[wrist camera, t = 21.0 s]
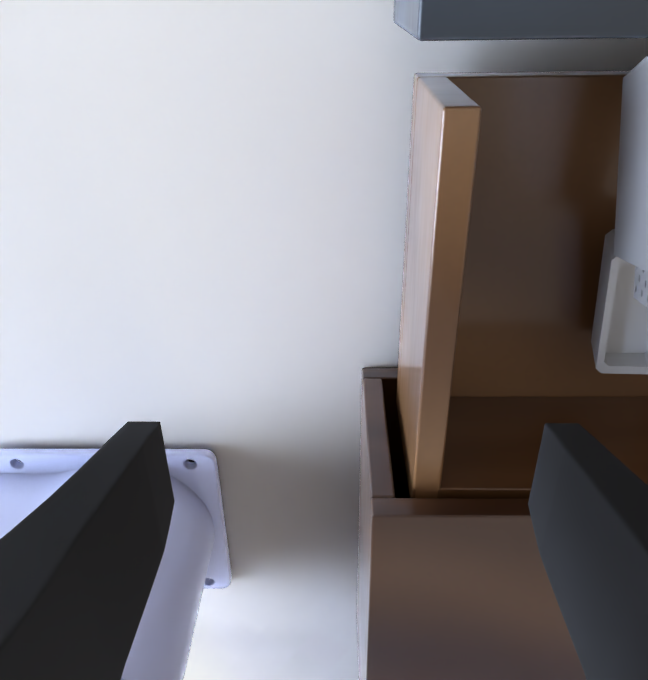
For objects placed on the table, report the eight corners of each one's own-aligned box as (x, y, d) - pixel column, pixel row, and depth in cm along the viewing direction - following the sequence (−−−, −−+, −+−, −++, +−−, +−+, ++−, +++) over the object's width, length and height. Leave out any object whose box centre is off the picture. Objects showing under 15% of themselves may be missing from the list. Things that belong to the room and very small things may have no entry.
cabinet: (361, 367, 23) (372, 516, 17) (755, 366, 23) (919, 517, 16) (356, 616, 30) (362, 787, 24) (655, 618, 30) (742, 792, 24)
